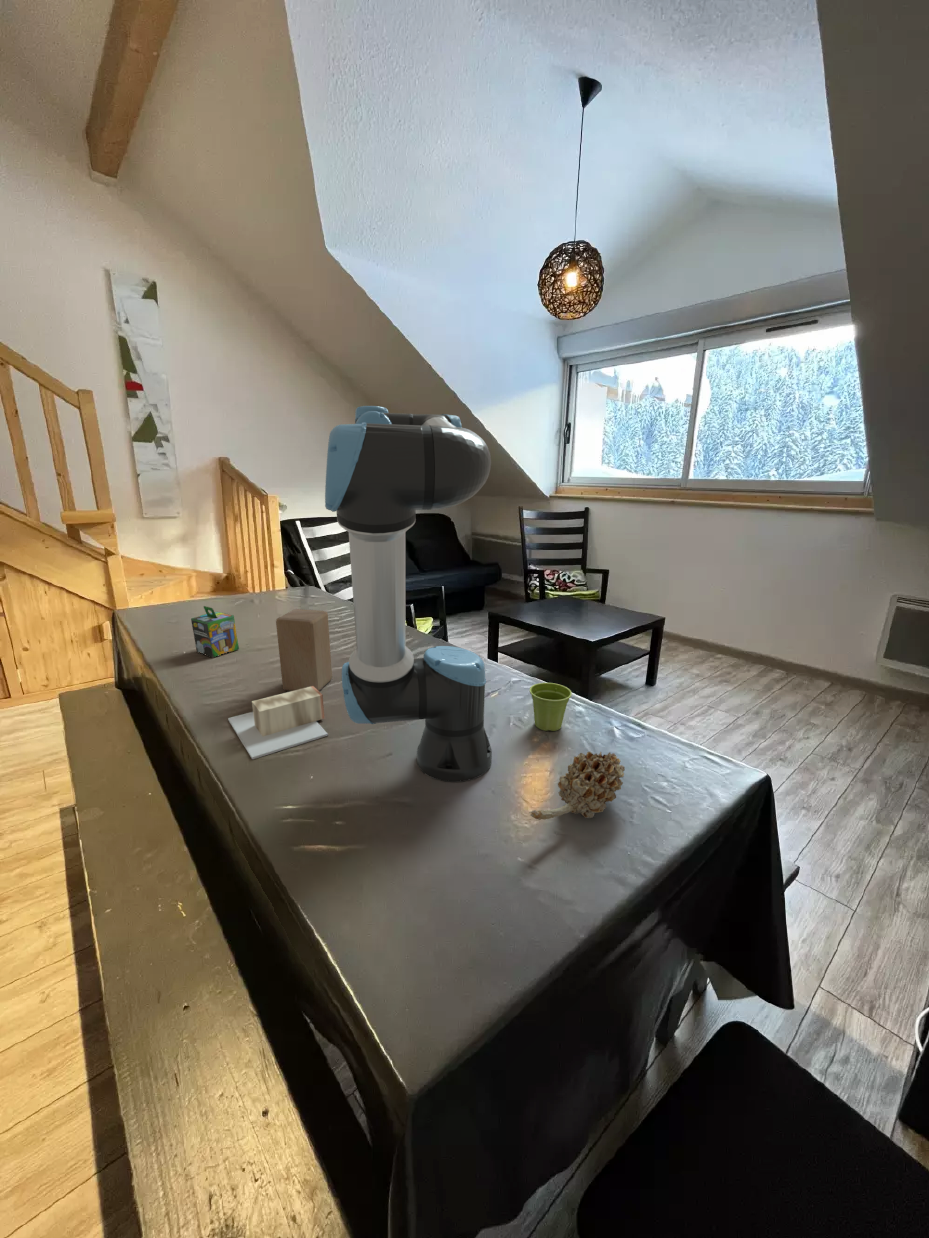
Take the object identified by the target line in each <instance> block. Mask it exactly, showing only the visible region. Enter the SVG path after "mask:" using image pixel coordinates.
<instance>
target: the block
mask: <svg viewBox="0 0 929 1238" xmlns="http://www.w3.org/2000/svg"><path fill="white" fill-rule="evenodd" d="M275 624H276V634H277V635H276V636H277V642H278V644H277V645H278V652H279V653H278V655H279V656H278V657H279V663H280V674H281V682H282V683H281V685H282V688H283V690H285V691H288V692H291V691H295V690H299V689H303V688H307V687H311V686H314V687H315V688H316V689H317V690H318V691H319V692H320V691H321V690H322V689H323V688H324V687H325V686H327V684H328V683H330V682H331V681H332V679H333V669H332V668H333V667H332V656H331V639H330V628H329V627H330V626H329V624H330V623H329V614H328V611H325V610H317V609H315V610H314V609H302V608H295V609H292V610H291V611H289V612H286V613H284V614H283V615H281V616H279V617H277V618H276V620H275Z"/></svg>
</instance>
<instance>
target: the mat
mask: <svg viewBox="0 0 929 1238" xmlns="http://www.w3.org/2000/svg"><path fill="white" fill-rule="evenodd" d="M227 719H228V722H229V724H230V726H231V727H232V729H233V731H234V733H236V735H237V737H238V738H239V740H240V742H241V744H242V745H243V746H244V748H245V750H246V751H247V753H248V755H249V757H250V758H251V760H256V759H258V758H261V757H264V756H267V755H270V754H275V753H277V752H280V751H283V750H286V749H291V748H293V747H297V746H300V745H302V744H303V745H304V744H306V743H308V742H312V741H315V740H318V739H322V738H324V737H328V736H329V733H328V732H327V731H326V730H325V728H323V727H322V725H320V723H319V722H318V721H314V722H311V723H307V724H304V725H300V726H297V727H294V728H290V729H287V730H283V731H280V732H276V733H273V734H270V735H266V736H262V735H261V734H260V732H259V731H258V729H257V728H256V726H255V723H254V715H253V711H250V712H246V713H244V714H243V713H242V714H239V715H235V716H232V717H228V718H227Z"/></svg>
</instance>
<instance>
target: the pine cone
mask: <svg viewBox="0 0 929 1238" xmlns="http://www.w3.org/2000/svg"><path fill="white" fill-rule="evenodd" d="M625 769H626V768H625V766H624V765H623V764H621V759H620V758H618V755H616V753H614V752H613V753H611V751H609V752H608V753H607V754H603V755H602V751H600V752H599V753H593V752H591V751H587V753H586V754H585V753H583V752H580V753H579V754H578V755H577V756H573V762H572V763H570V764H568V766H567V772H565V774H564V775H560V776H559V778H558V779H559V781H558V782H557V786H558V789H559V790H560V791H558V795H559V797H560V798H561V799H560V800H561V801H563V802H564V803H565V804H564V805H562V806H561V807H557V808H553V809H547V810H539V809H538V810H537V809H534V810H532V811H530V812H528V814H530V815H529V816H530V817H532V818H533V819H536V820H538V821H540V820H541V821H542V820H544V821H545V820H550V819H553V818H556V817H560V816H563V815H565V814H566V815H567V814H568V813H572V814H574V815H577V814H581V815H582V816H583V817H584V818H586V819H588V818H590V819H593V817H595V814H597V813H602V812H604V810H605V809H607V804H606V803H608V802H611V803H612V802H613V801H614V800H615V799H617V794H616V791H620V790H622V786H623V784H624V782H623V781H622V779H621V778H623V777H624V775H625V772H624V771H625Z"/></svg>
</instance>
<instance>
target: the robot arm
mask: <svg viewBox="0 0 929 1238" xmlns="http://www.w3.org/2000/svg"><path fill="white" fill-rule="evenodd" d="M354 412H355V418H354V423H348V424H347V423H345V424H344V423H343V424H342V423H341V424H338V425H336V426H334V427H333V428H332V429H331V431H330V432H329V435H328V444H327V453H326V455H327V456H326V468H325V469H326V470H325V486H324V487H325V488H324V489H325V491H324V499H325V500H324V503H325V504H324V507H325V509H326V510H328V511H330V512H334V513H335V512H336V521H337V523H338V525H339V526H340V527H341V528H343V529H344V530H345V531H346V532H348V542H349V543H348V544H349V556H350V569H351V570H350V572H351V584H352V585H351V586H352V601H353V602H352V603H353V614H354V615H353V616H354V628H355V629H354V630H355V631H354V632H355V645H356V647H355V649H354V650H353V651H352V653H351V654H350V656H349V659H348V661H347V662H344V663H343V665H342V667H341V686H342V692H343V700H344V704H345V709H346V711H347V712H346V713H347V715H348V717H349V718H350V720H351V721H352V722H353V723H355V724H371V725H375V724H382V723H393V722H394V723H395V722H406V721H418V720H425V723H424V724H425V725H424V729H423V732H422V735H421V739H420V742H419V744H418V746H417V749H416V764H417V766H418V768H419V770H420V771H422V772H423V774H425V775H426V776H428V777H430V778H432V779H434V780H438V781H441V782H450V783H455V782H456V783H458V782H466V781H471V780H473V779H476V778H479V777H480V776H483V775H484V774H485V773H486V772H488V771H489V769H490V768H491V765H492V758H493V756H492V755H493V753H492V752H493V750H492V746H491V744H490V740H489V737H488V735H487V731H486V729H485V701H486V700H485V699H486V698H485V695H486V693H485V691H486V683H487V679H486V669H485V667H486V666H485V663H484V660H483V659H482V658H481V656H480V655H478V654H477V653H476V652H473V651H471V650H468V649H466V648H462V647H458V646H452V645H451V646H450V645H436V646H433V647H429V648H428V649H426V650H425V651H424V653H423V657H418V658H417V657H416V658H414V653H413V652H412V651H411V649H410V648H409V647H408V646H406V532H407V531H408V530H409V529H411V528H412V527H413V526H414V525H415V523H416V520H417V519H416V511H429V510H435V511H436V510H443V509H448V508H452V507H455V506H458V505H460V504H462V503H465V502H466V501H467V500H469V499H471V498H472V497H474V496H475V495H477V493H478V492H479V491H480V490H481V489H482V487H483V486H484V485H485V484H486V483H487V480H488V478H489V476H490V471H491V469H492V468H491V466H492V457H491V453H490V450H489V447H488V445H487V443H486V442H485V440H484V439H483V438H482V437H481V436H479V434H477V433H476V432H474V431H473V430H471V429H468V428H466V427H462V423H461V422H462V421H461V419H460V416H457V415H455V414H453V415H452V414H445V413H442V414H432V413H429V414H428V413H426V414H425V413H421V414H420V413H402V412H401V413H398V412H389V410H388V409H387V407H385V406H379V405H378V406H377V405H362V406H358V407H356V409H355V411H354Z"/></svg>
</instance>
